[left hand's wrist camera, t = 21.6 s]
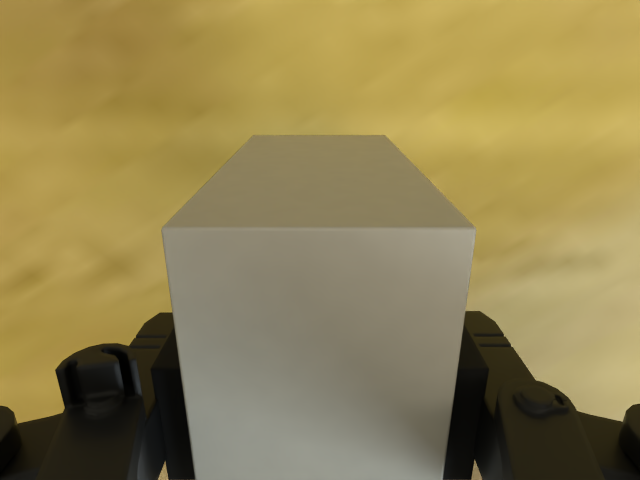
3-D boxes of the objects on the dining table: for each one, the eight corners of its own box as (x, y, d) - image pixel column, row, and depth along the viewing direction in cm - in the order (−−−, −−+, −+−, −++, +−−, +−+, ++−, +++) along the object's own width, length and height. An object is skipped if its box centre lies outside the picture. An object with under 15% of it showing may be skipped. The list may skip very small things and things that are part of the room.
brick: (385, 135, 15) (478, 227, 6) (374, 343, 19) (426, 603, 10) (252, 134, 15) (160, 227, 6) (263, 343, 19) (210, 603, 10)
